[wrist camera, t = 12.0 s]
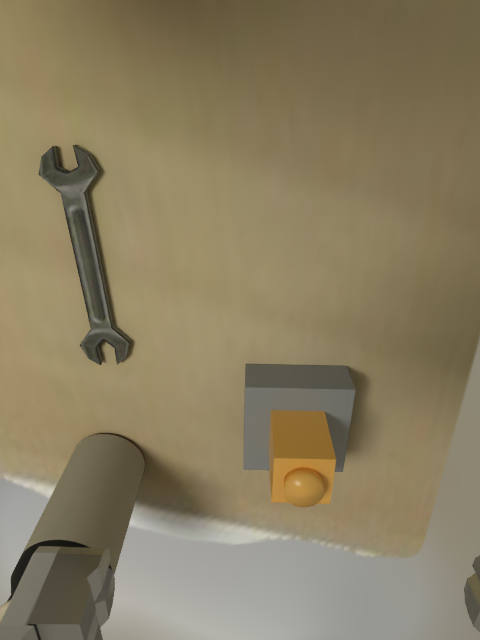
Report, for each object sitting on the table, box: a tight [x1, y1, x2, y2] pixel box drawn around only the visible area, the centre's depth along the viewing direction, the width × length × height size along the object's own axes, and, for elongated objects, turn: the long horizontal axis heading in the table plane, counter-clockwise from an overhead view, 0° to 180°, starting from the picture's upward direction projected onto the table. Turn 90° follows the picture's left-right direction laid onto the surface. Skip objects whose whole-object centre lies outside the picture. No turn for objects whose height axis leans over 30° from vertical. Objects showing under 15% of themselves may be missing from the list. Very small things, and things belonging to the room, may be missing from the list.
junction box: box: [244, 364, 356, 472], centre depth 42 cm, size 10×10×8 cm
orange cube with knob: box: [269, 410, 336, 507], centre depth 39 cm, size 5×5×7 cm
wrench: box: [39, 145, 131, 365], centre depth 39 cm, size 5×2×20 cm
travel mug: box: [0, 434, 145, 622], centre depth 42 cm, size 8×8×18 cm
